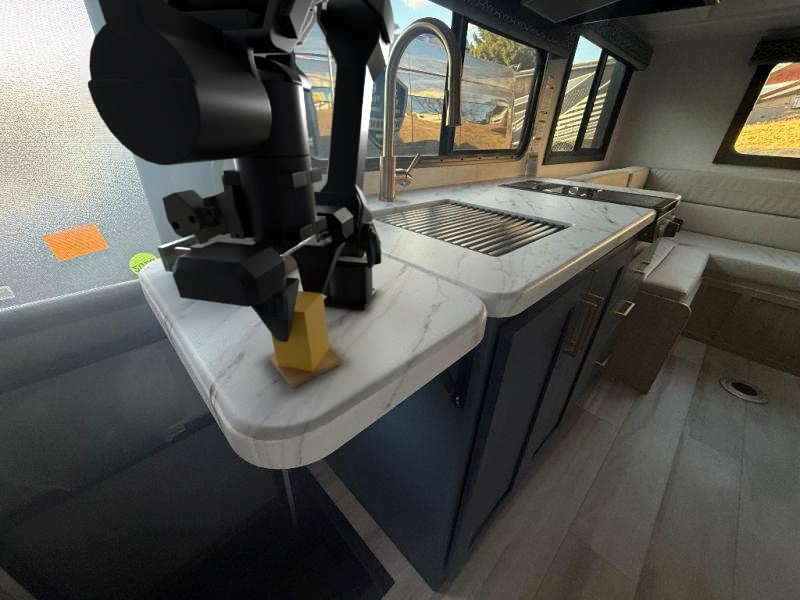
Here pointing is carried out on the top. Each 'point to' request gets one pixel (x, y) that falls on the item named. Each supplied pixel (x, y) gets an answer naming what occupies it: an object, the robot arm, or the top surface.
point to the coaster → (301, 376)
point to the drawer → (176, 251)
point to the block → (304, 334)
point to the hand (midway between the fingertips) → (299, 323)
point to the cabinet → (289, 260)
